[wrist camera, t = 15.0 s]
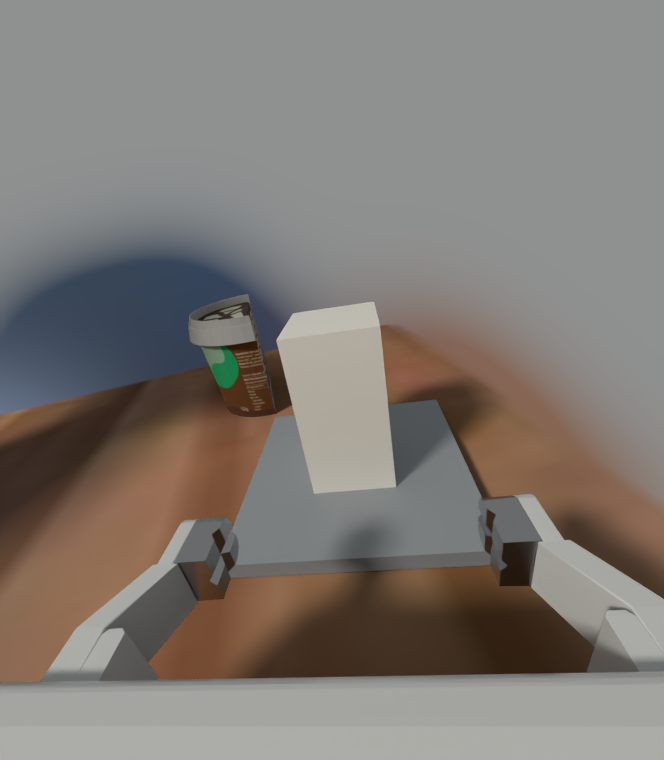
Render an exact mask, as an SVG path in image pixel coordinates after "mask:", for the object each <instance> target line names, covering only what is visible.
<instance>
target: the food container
mask: <svg viewBox="0 0 664 760" xmlns="http://www.w3.org/2000/svg"><path fill="white" fill-rule="evenodd" d="M189 319H190V322H189V324H188V327H189V336H190V340H191V342H192V343H194V344H197V345H200V346H201V348H202V351H203V353H204V355H205V357H206V360H207V362H208V364H209V367H210V369H211V371H212V373H213V376H214V378H215V380H216V382H217V385H218V387H219V389H220V392H221V394H222V396H223V398H224V401H225V403H226V405H227V408H228V409H229V411H230V412H231V413H233V414H235V415H239V416H244V417H259V416H266V415H271V414H276V409H275V403H274V398H273V392H272V387H271V381H270V376H269V372H268V369H267V365H266V361H265V357H264V353H263V350H262V346H261V342H260V338H259V335H258V331H257V327H256V323H255V319H254V316H253V312H252V308H251V304H250V300H249V297H248V295H247V294H246V295H241V296H237V297H233V298H229V299H225V300H222V301H219V302H216V303H213V304H210V305H207V306H205V307H202V308H200V309H198V310H196V311H194V312H193V313H191V314H190V316H189Z"/></svg>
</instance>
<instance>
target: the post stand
mask: <svg viewBox="0 0 664 760" xmlns="http://www.w3.org/2000/svg"><path fill="white" fill-rule="evenodd" d="M388 411H389V421H390V431H391V440H392V450H393V460H394V470H395V480H396V487H392V488H379V489H366V490H354V491H341V492H328V493H316V494H314V492H313V487H312V483H311V479H310V475H309V471H308V467H307V463H306V459H305V455H304V451H303V447H302V443H301V439H300V435H299V431H298V426H297V422H296V418H295V415H290V416H281V417H275V420H274V422H273V425H272V427H271V430H270V433H269V435H268V438H267V440H266V443H265V446H264V448H263V451H262V453H261V456H260V459H259V461H258V464H257V466H256V469H255V472H254V474H253V477H252V479H251V482H250V484H249V487H248V490H247V492H246V495H245V497H244V500H243V503H242V505H241V508H240V510H239V513H238V516H237V518H236V521H235V523H234V526H233V529H232V532H233V533H234V534H236V536H237V539H238V544H239V551H238V558H237V561H236V564H235V566H234V567H233V568H232V569H231V570H230V571H229V574H230V577H231V578H241V577H261V576H281V575H301V574H321V573H341V572H361V571H381V570H401V569H421V568H441V567H461V566H481V565H490V559H491V555H490V554H489V553H487V552H486V551H485V550H484V548H483V545H482V542H481V539H480V536H479V530H478V517H479V516H480V515H481V513H480V510H479V508H478V503H479V499H480V498H482V497H481V494H480V492H479V490H478V488H477V486H476V484H475V481H474V479H473V477H472V475H471V473H470V471H469V469H468V466H467V464H466V462H465V460H464V458H463V456H462V454H461V451H460V449H459V447H458V445H457V443H456V441H455V438H454V436H453V434H452V432H451V430H450V428H449V426H448V423H447V421H446V419H445V417H444V415H443V413H442V410H441V408H440V406H439V404H438V402H437V400H427V401H418V402H409V403H400V404H390V405H388Z"/></svg>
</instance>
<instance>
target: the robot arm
mask: <svg viewBox="0 0 664 760" xmlns="http://www.w3.org/2000/svg"><path fill="white" fill-rule="evenodd" d="M478 508H479V510H480V513H481V515H480V516H479V517H478V530H479V536H480V539H481V542H482V545H483V548H484V550H485V551H486V552H487V553H489V554H490V555H491V559H490V565H491V567H492V570H493V572H494V575H495V577H496V579H497V582H498V584H499V586H531V588H532V589H533V590H534V591H535V592H536V593H537V594H539V595H540V596H541V597H542V598H543V599H544V600H545V601H546V602H547V603H548V604H549V605H550V606H551V607H552V608H553V609H554V610H556V611H557V612H558V613H559V614H560V615H561V616H562V617H563V618H564V619H565V620H566V621H567V622H568V623H569V624H570V625H571V626H573V627H574V628H575V629H576V630H577V631H578V632H579V633H580V634H581V635H582V636H583V637H584V638H585V639H586V640H587V641H588V642H590V643H591V644H592V645H593V646H594V650H593V653H592V656H591V659H590V662H589V665H588V668H587V673H536V674H476V675H416V676H355V677H297V678H242V679H185V680H158V676H157V673H156V672H155V671H154V669H153V668H152V667H151V665H150V664H149V663H148V662H149V661H150V660H151V659H152V658H153V656H154V655H155V654H156V653H157V652H158V650H159V649H160V648H161V647H162V646H163V644H164V643H165V642H166V641H167V640H168V638H169V637H170V636H171V635H172V634H173V632H174V631H175V630H176V629H177V628H178V626H179V625H180V624H181V623H182V622H183V620H184V619H185V618H186V617H187V616H188V614H189V613H190V612H191V611H192V610H193V609H194V607H195V606H196V605H197V604H198V601H204V600H217V599H224V597H225V594H226V591H227V588H228V585H229V582H230V579H231V577H230V574H229V571H230V570H231V569H232V568H233V567H234V566H235V564H236V561H237V558H238V551H239V544H238V539H237V536H236V534H234V533H233V532H232V531H230V530H231V527H232V524H231V522H230V520H229V518H214V519H198V520H185V521H183V522H182V523H181V524H180V526H179V527H178V529H177V531H176V533H175V534H174V536H173V538H172V540H171V541H170V543H169V545H168V547H167V548H166V550H165V552H164V554H163V555H162V557H161V559H160V561H159V563H158V564H157V565H152V566H151V567H150V568H149V569H148V570H146V571H145V572H144V573H143V574H142V575H140V576H139V577H138V578H137V579H135V580H134V581H133V582H132V583H131V584H129V585H128V586H127V587H126V588H125V589H123V590H122V591H121V592H120V593H118V594H117V595H116V596H115V597H114V598H112V599H111V600H110V601H109V602H108V603H106V604H105V605H104V606H103V607H102V608H100V609H99V610H98V611H97V612H95V613H94V614H93V615H92V616H91V617H89V618H88V619H87V620H86V621H85V622H83V623H82V624H81V625H80V626H78V627H77V628H76V629H75V631H74V632H73V634H72V635H71V637H70V638H69V640H68V641H67V643H66V644H65V646H64V647H63V649H62V650H61V652H60V653H59V655H58V656H57V658H56V659H55V661H54V662H53V663H52V665H51V666H50V668H49V669H48V671H47V672H46V674H45V675H44V677H43V678H42V680H41V681H40V682H1V683H0V760H664V599H663V598H661V597H660V596H658V595H657V594H655V593H653V592H652V591H650V590H649V589H647V588H646V587H644V586H642V585H641V584H639V583H638V582H636V581H634V580H633V579H631V578H630V577H628V576H627V575H625V574H623V573H622V572H620V571H619V570H617V569H615V568H614V567H612V566H611V565H609V564H608V563H606V562H604V561H603V560H601V559H600V558H598V557H596V556H595V555H593V554H592V553H590V552H589V551H587V550H585V549H584V548H582V547H581V546H579V545H577V544H576V543H574V542H573V541H571V540H564V538H563V537H562V536H561V534H560V533H559V531H558V530H557V528H556V527H555V525H554V524H553V522H552V521H551V519H550V518H549V516H548V515H547V513H546V512H545V510H544V509H543V508H542V506H541V505H540V503H539V502H538V500H537V499H536V497H535V496H534V495H532V494H526V495H514V496H501V497H489V498H480V499H479V503H478Z"/></svg>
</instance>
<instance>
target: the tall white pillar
mask: <svg viewBox="0 0 664 760" xmlns="http://www.w3.org/2000/svg"><path fill="white" fill-rule="evenodd" d="M277 345H278V349H279V353H280V357H281V361H282V365H283V370H284V374H285V378H286V382H287V386H288V390H289V394H290V398H291V402H292V406H293V410H294V414H295V418H296V422H297V426H298V431H299V435H300V439H301V443H302V447H303V451H304V455H305V459H306V463H307V467H308V471H309V475H310V479H311V483H312V487H313V492H314V494H316V493H328V492H341V491H354V490H366V489H379V488H392V487H396V480H395V470H394V460H393V450H392V440H391V431H390V421H389V411H388V401H387V391H386V381H385V371H384V361H383V351H382V341H381V331H380V324H379V320H378V317H377V312H376V308H375V305H374V302H368V303H361V304H354V305H347V306H341V307H334V308H327V309H320V310H314V311H306V312H300V313H294V314H292V316H291V318H290V319H289V321H288V322H287V324H286V326H285V327H284V329H283V330H282V332H281V334H280V335H279V337H278V338H277Z"/></svg>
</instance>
